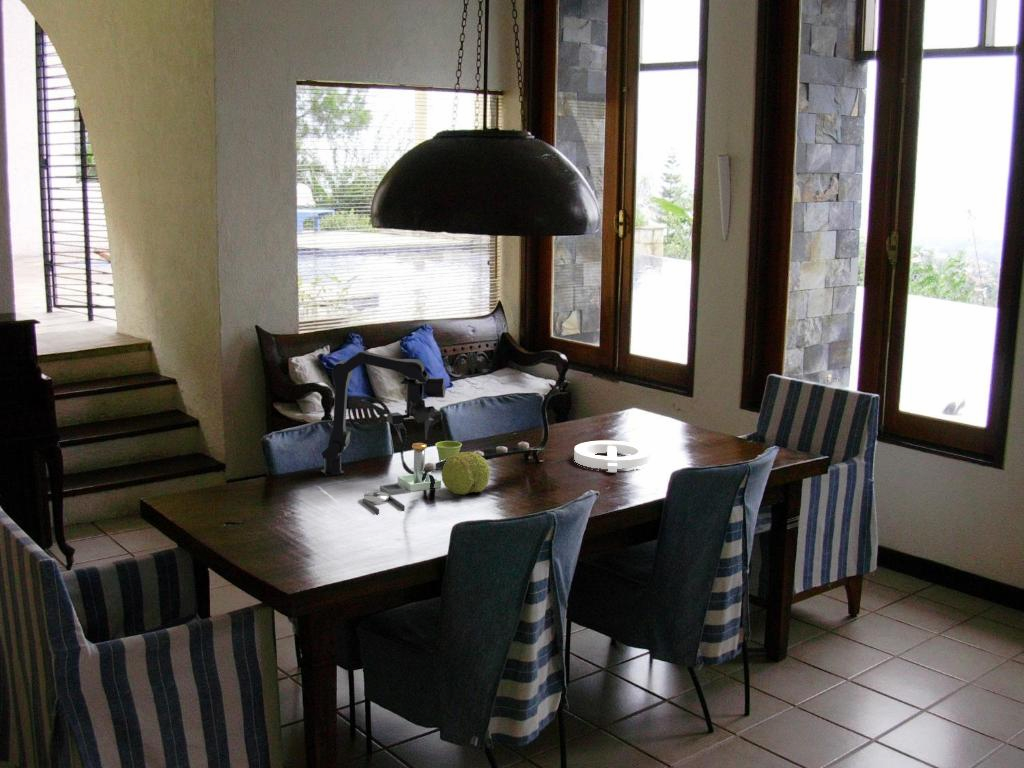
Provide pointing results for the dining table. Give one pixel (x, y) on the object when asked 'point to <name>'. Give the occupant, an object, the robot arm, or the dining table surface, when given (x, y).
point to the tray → (408, 483)
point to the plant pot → (447, 449)
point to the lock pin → (419, 461)
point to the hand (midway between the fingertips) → (414, 440)
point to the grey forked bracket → (379, 500)
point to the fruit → (465, 473)
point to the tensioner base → (392, 489)
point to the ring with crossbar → (611, 455)
